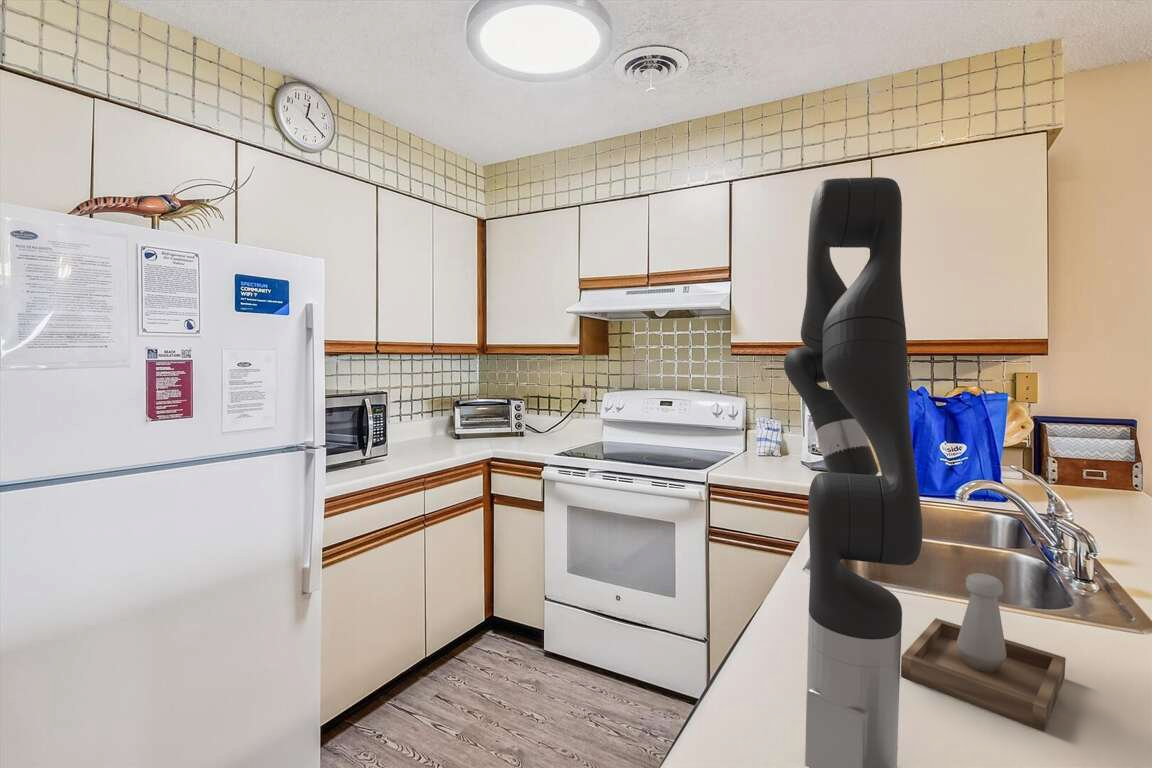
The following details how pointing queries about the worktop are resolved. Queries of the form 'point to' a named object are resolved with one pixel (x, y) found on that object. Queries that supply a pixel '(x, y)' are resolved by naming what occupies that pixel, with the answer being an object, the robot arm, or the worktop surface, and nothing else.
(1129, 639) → the worktop surface
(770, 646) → the worktop surface
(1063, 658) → the walnut tray
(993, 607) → the salt shaker
